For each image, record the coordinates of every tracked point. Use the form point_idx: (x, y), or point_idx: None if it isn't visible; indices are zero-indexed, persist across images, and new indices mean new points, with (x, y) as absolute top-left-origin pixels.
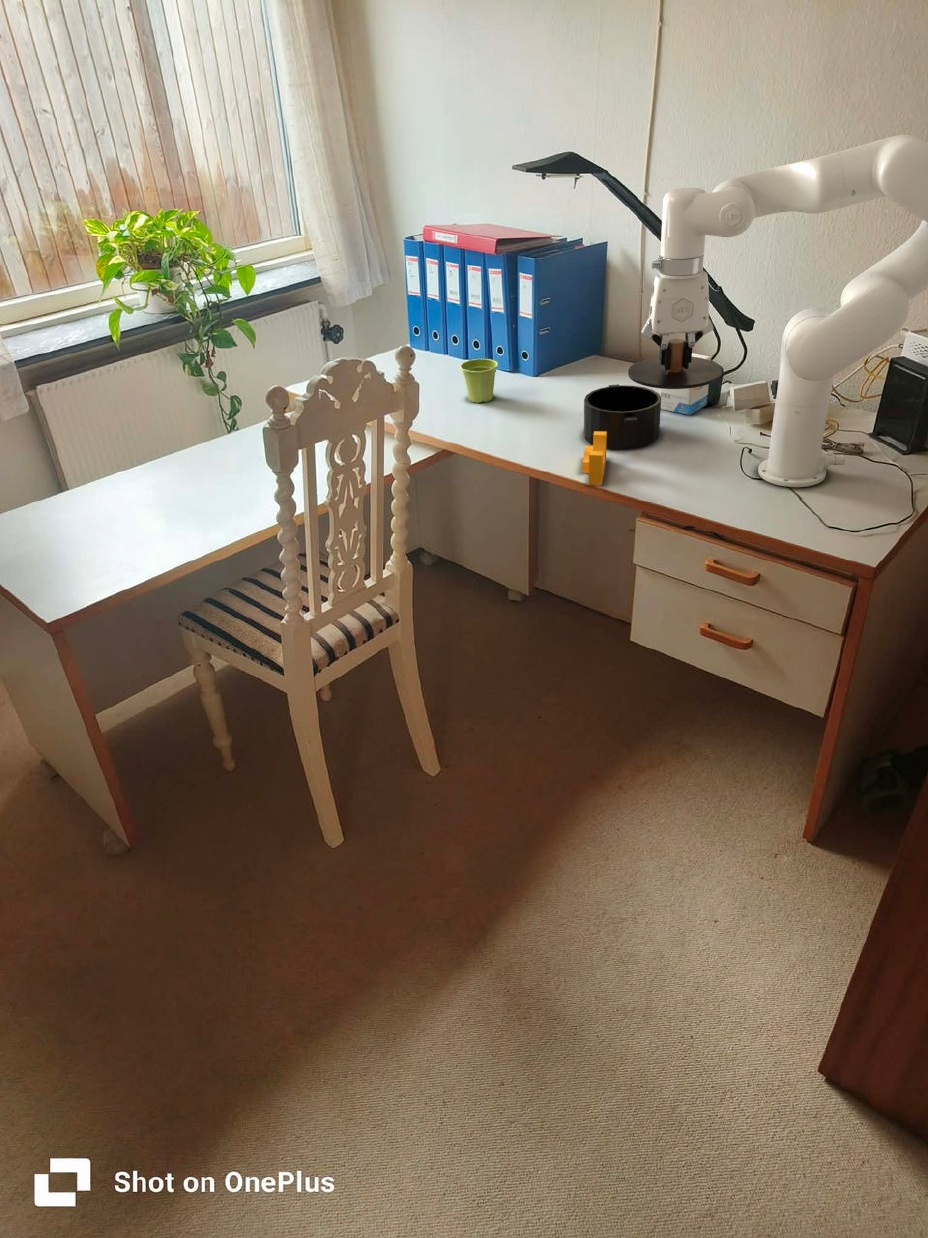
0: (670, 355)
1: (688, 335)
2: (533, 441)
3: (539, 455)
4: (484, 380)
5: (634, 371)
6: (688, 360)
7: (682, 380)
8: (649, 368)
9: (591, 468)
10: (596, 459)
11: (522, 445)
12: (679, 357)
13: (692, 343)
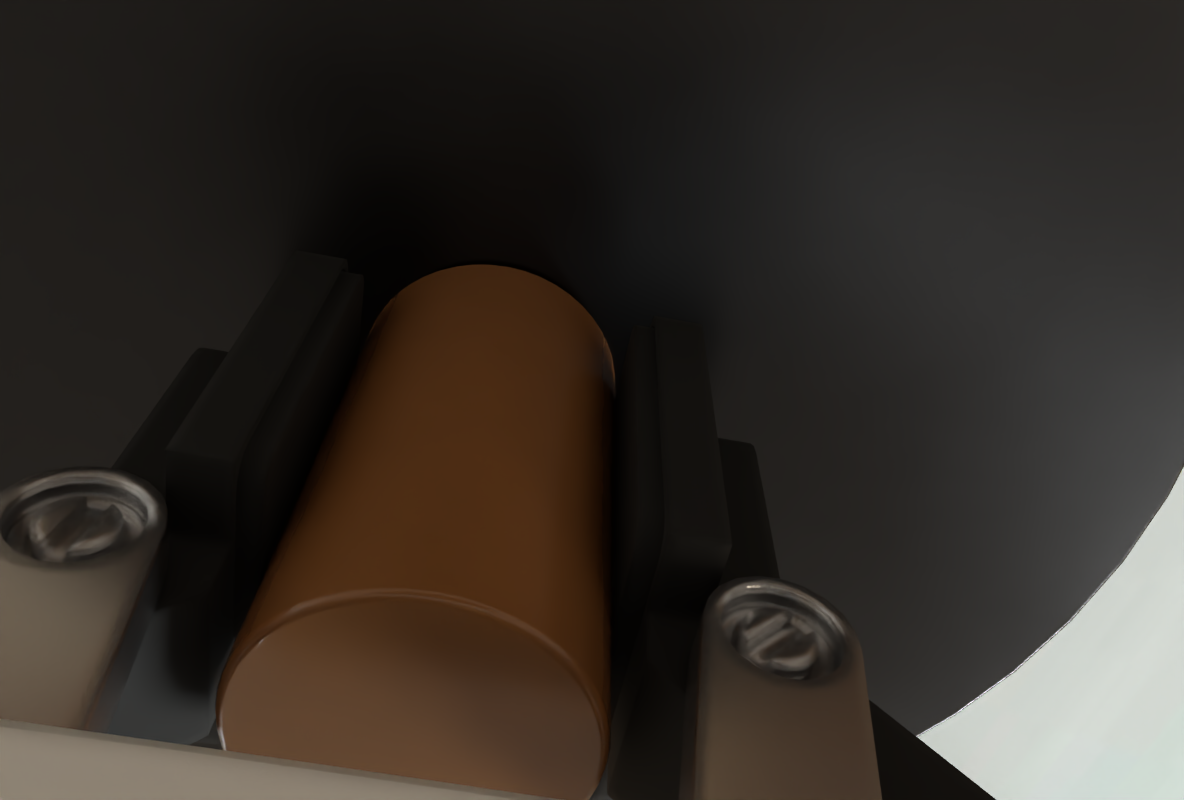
0: (598, 485)
1: (81, 716)
2: (1092, 655)
3: (1168, 503)
4: None
5: (1042, 542)
6: (265, 310)
7: None
8: (791, 564)
9: None
10: None
11: (1172, 634)
12: (433, 392)
13: (52, 527)
